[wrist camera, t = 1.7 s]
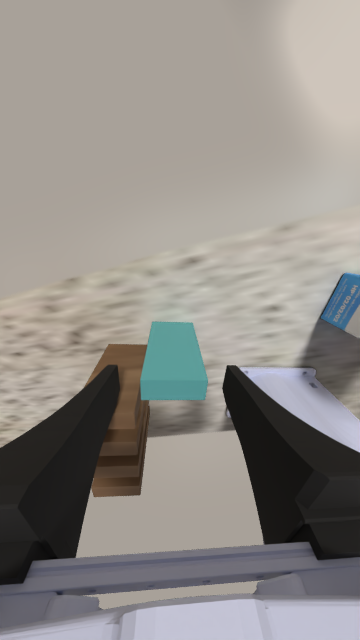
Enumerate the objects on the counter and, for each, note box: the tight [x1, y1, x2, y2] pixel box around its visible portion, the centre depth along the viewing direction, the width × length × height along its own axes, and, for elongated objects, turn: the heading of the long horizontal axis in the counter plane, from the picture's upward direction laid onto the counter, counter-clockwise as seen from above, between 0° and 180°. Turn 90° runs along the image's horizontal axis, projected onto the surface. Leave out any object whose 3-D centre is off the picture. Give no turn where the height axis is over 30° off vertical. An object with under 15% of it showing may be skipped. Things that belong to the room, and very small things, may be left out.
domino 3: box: [94, 400, 149, 478], centre depth 18 cm, size 2×4×8 cm, turn 87°
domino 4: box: [91, 406, 150, 497], centre depth 19 cm, size 2×4×8 cm, turn 87°
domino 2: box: [99, 400, 145, 456], centre depth 17 cm, size 2×4×8 cm, turn 87°
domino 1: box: [85, 344, 147, 429], centre depth 15 cm, size 2×4×8 cm, turn 87°
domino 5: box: [140, 322, 208, 400], centre depth 14 cm, size 2×4×8 cm, turn 87°
